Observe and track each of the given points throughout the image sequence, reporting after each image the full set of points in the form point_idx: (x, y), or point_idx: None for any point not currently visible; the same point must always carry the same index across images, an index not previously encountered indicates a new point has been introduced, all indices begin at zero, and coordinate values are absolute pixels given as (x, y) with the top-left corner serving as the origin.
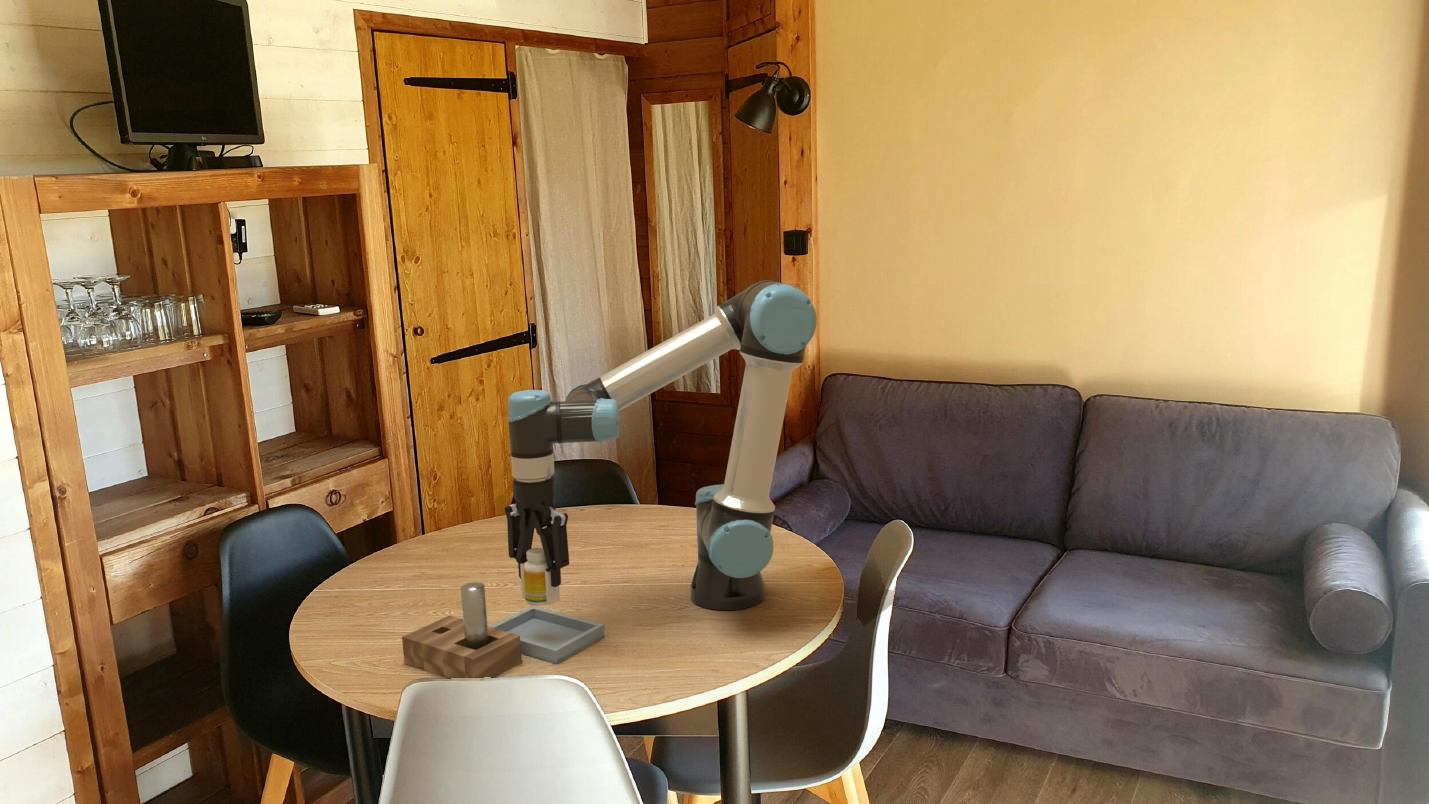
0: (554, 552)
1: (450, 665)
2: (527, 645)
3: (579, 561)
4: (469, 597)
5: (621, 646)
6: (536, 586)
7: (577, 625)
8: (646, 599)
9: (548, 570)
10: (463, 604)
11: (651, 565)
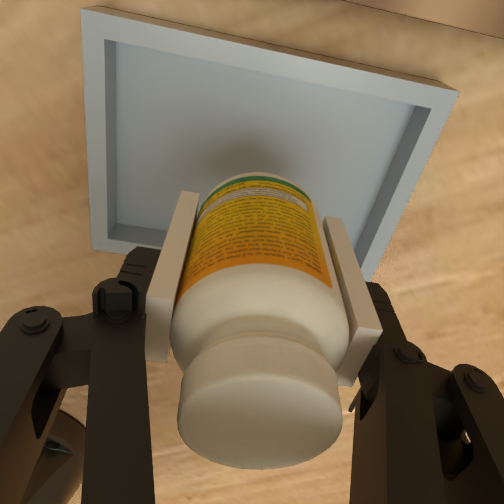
0: (8, 419)
1: None
2: (236, 41)
3: None
4: None
5: (20, 195)
6: (229, 220)
7: None
8: (157, 399)
9: (113, 285)
10: None
11: (241, 489)
